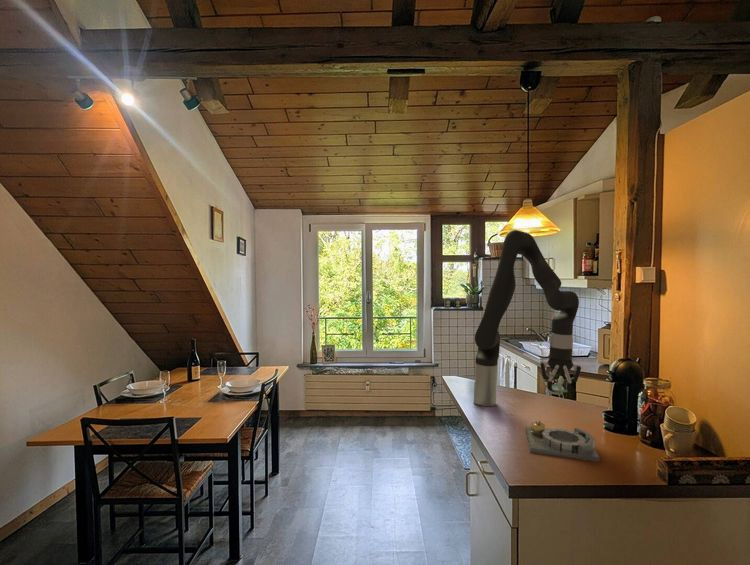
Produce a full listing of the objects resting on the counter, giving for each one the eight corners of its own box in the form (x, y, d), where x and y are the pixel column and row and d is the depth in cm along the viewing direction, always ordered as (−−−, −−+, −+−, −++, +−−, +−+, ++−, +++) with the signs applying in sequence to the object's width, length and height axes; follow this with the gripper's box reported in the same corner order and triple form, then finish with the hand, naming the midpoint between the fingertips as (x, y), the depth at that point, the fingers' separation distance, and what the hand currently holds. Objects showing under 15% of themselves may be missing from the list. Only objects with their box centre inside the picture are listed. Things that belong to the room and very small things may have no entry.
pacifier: (551, 396, 147) (569, 396, 146) (552, 378, 147) (569, 379, 146) (545, 389, 154) (561, 390, 154) (545, 373, 154) (561, 373, 153)
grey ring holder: (530, 452, 132) (530, 435, 132) (525, 430, 150) (526, 415, 150) (599, 462, 127) (600, 445, 126) (586, 438, 144) (587, 422, 144)
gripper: (541, 346, 148) (538, 392, 149) (585, 349, 144) (582, 397, 145) (538, 342, 155) (536, 386, 156) (580, 345, 151) (578, 390, 152)
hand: (558, 391), depth 150 cm, fingers closed on pacifier, 5 cm apart
